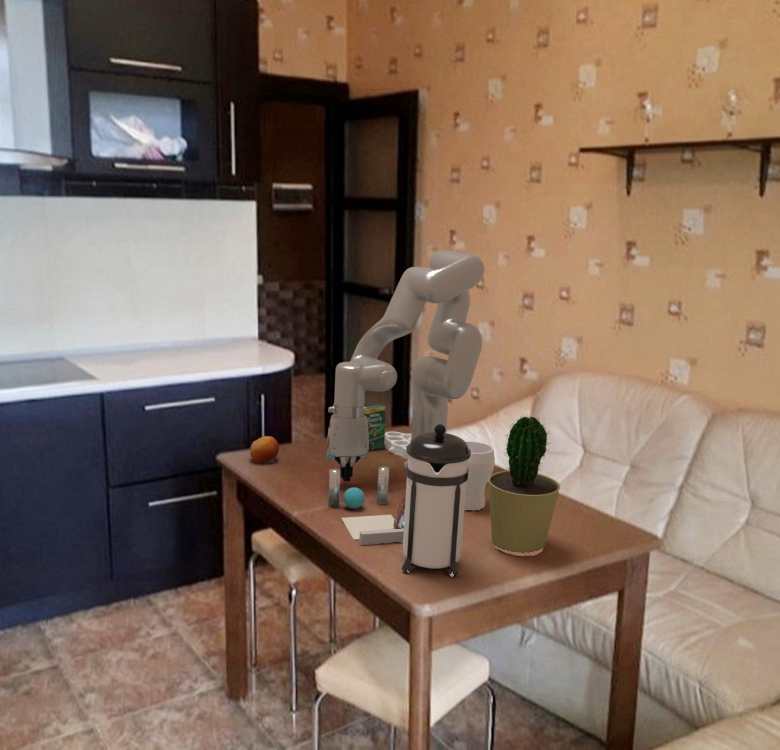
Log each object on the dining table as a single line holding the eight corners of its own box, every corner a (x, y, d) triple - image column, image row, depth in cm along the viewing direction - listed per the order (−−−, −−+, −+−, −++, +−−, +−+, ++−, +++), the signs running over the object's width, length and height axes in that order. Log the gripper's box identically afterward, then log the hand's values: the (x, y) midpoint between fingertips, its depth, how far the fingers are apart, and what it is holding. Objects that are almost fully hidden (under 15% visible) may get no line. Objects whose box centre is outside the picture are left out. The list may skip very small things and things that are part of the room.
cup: (461, 494, 209) (465, 438, 205) (498, 505, 203) (503, 447, 200) (439, 505, 200) (443, 447, 197) (477, 517, 194) (482, 457, 191)
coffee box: (360, 452, 238) (362, 408, 235) (355, 449, 240) (357, 406, 237) (384, 449, 241) (387, 406, 239) (380, 446, 244) (382, 404, 241)
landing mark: (390, 515, 193) (390, 514, 193) (406, 536, 182) (406, 535, 182) (341, 518, 189) (341, 517, 189) (353, 540, 178) (353, 539, 178)
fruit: (283, 461, 222) (268, 436, 220) (258, 474, 223) (243, 449, 221) (287, 452, 230) (273, 428, 228) (263, 464, 231) (249, 440, 229)
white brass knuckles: (442, 458, 238) (396, 462, 232) (415, 439, 254) (372, 443, 248) (443, 446, 237) (397, 451, 231) (416, 429, 253) (372, 432, 247)
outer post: (337, 503, 198) (339, 468, 196) (340, 507, 196) (341, 471, 194) (327, 503, 198) (328, 468, 196) (329, 508, 195) (330, 472, 193)
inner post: (385, 500, 202) (387, 465, 200) (388, 504, 199) (390, 469, 197) (375, 501, 201) (377, 466, 199) (378, 505, 199) (380, 469, 197)
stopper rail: (411, 538, 181) (412, 527, 180) (414, 541, 179) (414, 530, 179) (359, 542, 177) (359, 531, 177) (361, 545, 176) (361, 534, 175)
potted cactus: (517, 567, 169) (530, 428, 163) (468, 540, 181) (478, 409, 175) (568, 551, 178) (582, 419, 172) (518, 526, 190) (529, 401, 184)
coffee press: (486, 569, 168) (497, 428, 161) (424, 587, 159) (434, 439, 152) (433, 538, 181) (442, 407, 175) (374, 553, 172) (381, 416, 166)
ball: (360, 492, 200) (363, 482, 196) (364, 510, 197) (367, 501, 193) (340, 494, 198) (343, 485, 194) (344, 513, 196) (346, 504, 192)
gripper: (322, 416, 201) (320, 486, 205) (381, 414, 205) (377, 483, 209) (316, 407, 208) (314, 476, 212) (373, 406, 212) (370, 473, 216)
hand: (346, 479), depth 210 cm, fingers closed
